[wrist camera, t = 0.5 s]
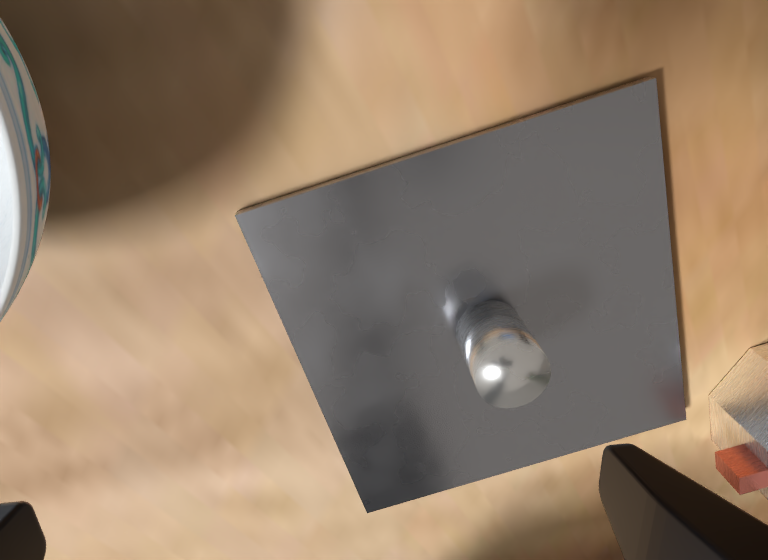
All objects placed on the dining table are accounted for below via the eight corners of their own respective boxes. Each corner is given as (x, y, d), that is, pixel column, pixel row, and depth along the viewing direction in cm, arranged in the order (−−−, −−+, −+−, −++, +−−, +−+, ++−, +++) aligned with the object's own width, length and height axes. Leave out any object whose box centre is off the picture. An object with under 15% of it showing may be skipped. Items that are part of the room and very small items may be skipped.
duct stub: (679, 411, 26) (736, 472, 22) (366, 503, 27) (371, 577, 23) (647, 76, 20) (719, 84, 16) (237, 211, 21) (215, 247, 17)
